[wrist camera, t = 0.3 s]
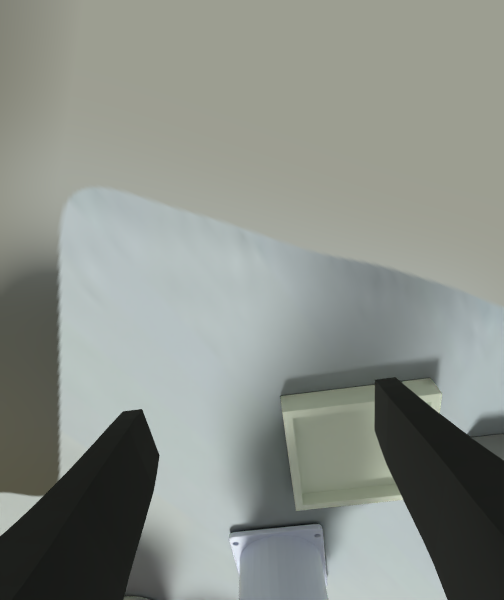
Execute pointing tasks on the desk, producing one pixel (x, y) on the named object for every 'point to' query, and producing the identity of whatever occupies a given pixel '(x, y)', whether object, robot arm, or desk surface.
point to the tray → (341, 446)
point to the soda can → (135, 598)
